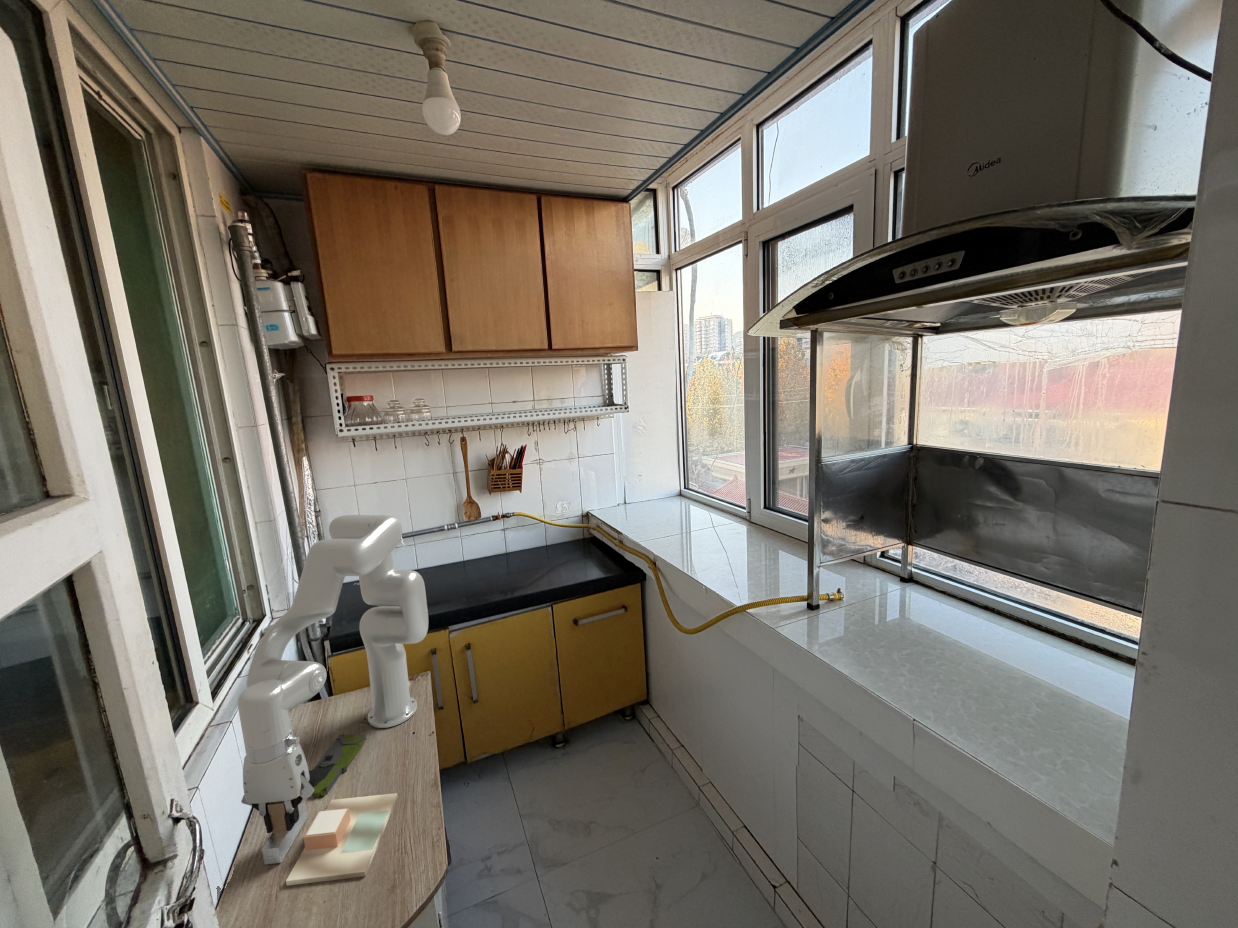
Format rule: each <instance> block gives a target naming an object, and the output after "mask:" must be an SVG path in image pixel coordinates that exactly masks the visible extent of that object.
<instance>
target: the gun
mask: <svg viewBox="0 0 1238 928" xmlns="http://www.w3.org/2000/svg"><path fill="white" fill-rule="evenodd" d="M366 740H367V735H366V734H361V735H360V736H355V735H354V736H353V734H344V733H343V734H339V735H338V736H337V737H336V740H334V742H333V743H332V745H331V746H330V747H329V748H328V750H327V751H326V752H325V754H323V756H322V757H321V758H320V760H318V763H317V765H316V767H315V768H313V769H310V770H309V769H308V770H309V776H310V780H309V783H310V784H311V786H312V787H313V788H314V792H313V793H312V796H313V798H314V799H315V798H317V799H318V798H320V797H325V796H326V795H328V794H329V792H330V791H331V789H332V788H333V787H334V785H335V784H336V782H337V781H338V780H339V778H340V777H341V776H342V773H347V771H348V767H349V765H350V764H351V763H352V761H354V759H355V758H356V756H357V754H358V753H359V751H360V750H361V748H362V747H363V746H364V744H365V743H366Z"/></svg>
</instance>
